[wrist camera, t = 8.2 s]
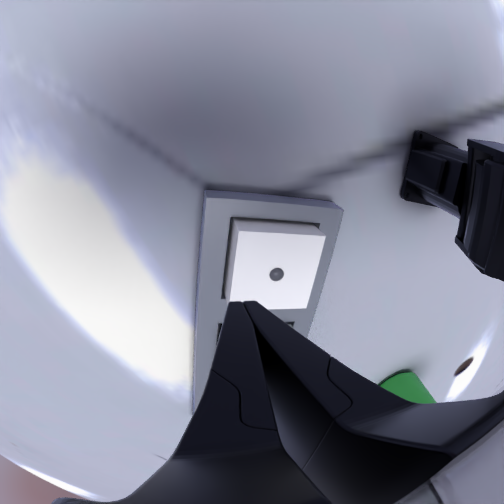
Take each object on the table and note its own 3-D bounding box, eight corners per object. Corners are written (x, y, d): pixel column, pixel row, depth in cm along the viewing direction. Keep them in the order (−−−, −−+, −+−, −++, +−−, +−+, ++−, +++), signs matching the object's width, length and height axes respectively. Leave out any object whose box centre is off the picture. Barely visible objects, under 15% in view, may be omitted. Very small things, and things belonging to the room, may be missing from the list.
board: (332, 201, 23) (343, 209, 21) (271, 409, 34) (275, 421, 33) (204, 189, 21) (206, 197, 19) (193, 414, 32) (194, 428, 30)
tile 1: (309, 220, 23) (326, 236, 20) (293, 287, 25) (306, 309, 22) (231, 214, 21) (239, 231, 18) (223, 287, 24) (228, 310, 21)
